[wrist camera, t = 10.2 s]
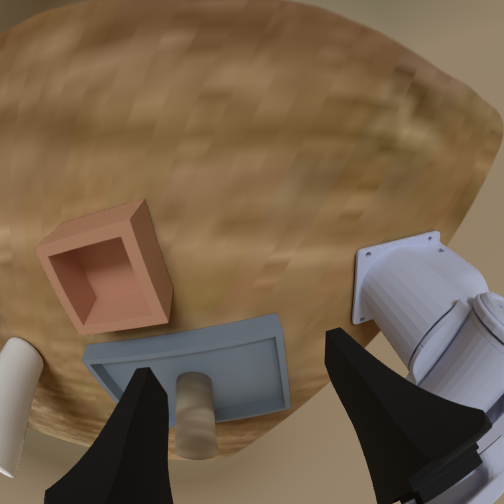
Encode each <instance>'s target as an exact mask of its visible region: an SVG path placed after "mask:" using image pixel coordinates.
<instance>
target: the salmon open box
mask: <svg viewBox="0 0 504 504" xmlns="http://www.w3.org/2000/svg"><path fill="white" fill-rule="evenodd" d="M35 250H36V252H37V254H38V257H39V259H40V261H41V264H42V266H43V268H44V270H45V272H46V274H47V276H48V278H49V280H50V282H51V284H52V286H53V288H54V290H55V292H56V294H57V296H58V298H59V300H60V302H61V303H62V305H63V307H64V309H65V311H66V312H67V314H68V316H69V318H70V319H71V321H72V323H73V324H74V326H75V328H76V329H77V331H78V332H79V334H80V335H87V334H96V333H103V332H111V331H118V330H126V329H132V328H139V327H146V326H152V325H158V324H164V323H169V315H170V308H171V301H172V294H173V286H172V283H171V280H170V277H169V274H168V271H167V268H166V265H165V263H164V260H163V257H162V253H161V250H160V247H159V244H158V241H157V238H156V235H155V231H154V228H153V225H152V222H151V218H150V215H149V211H148V208H147V204H146V201H145V199H142V200H138V201H135V202H131V203H127V204H124V205H120V206H117V207H113V208H110V209H107V210H103V211H100V212H97V213H93V214H90V215H87V216H84V217H81V218H78V219H75V220H72V221H69V222H66V223H63V224H60V225H59V226H58V227H57V228H56V229H55V230H54V231H52V232H51V233H50V234H49V235H48V236H47V237H46V238H45V239H44V240H42V241H41V242H40V243H39V244H38V245H37V246H36V247H35Z"/></svg>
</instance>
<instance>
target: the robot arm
mask: <svg viewBox="0 0 504 504" xmlns="http://www.w3.org/2000/svg"><path fill="white" fill-rule="evenodd" d="M428 238H429V239H428ZM439 240H440V233H439V232H438V231H432V232H428V233H424V234H420V235H416V236H412V237H408V238H404V239H400V240H396V241H392V242H388V243H384V244H380V245H376V246H371V247H367V248H363V249H360V250H359V251H358V252H357V254H356V269H355V286H354V300H353V312H352V322H353V324H355V325H356V324H360V323H363V322H366V321H369V320H372V319H373V320H374V322H375V323H376V324H377V326H378V327H379V329H380V330H381V331H382V333H383V334H384V336H385V337H386V338H387V340H388V341H389V342H390V344H391V345H392V347H393V348H394V350H395V351H396V352H397V354H398V356H399V357H400V358H401V360H402V361H403V363H404V364H405V366H406V367H407V369H408V370H409V374H408V375H407V377H406V378H403V377H401V376H400V375H399V374H397V373H396V372H394V371H393V370H391V369H390V368H388V367H387V366H386V365H384V364H383V363H382V362H380V361H379V360H378V359H376V358H375V357H374V356H373V355H371V354H370V353H369V352H368V351H366V350H365V349H364V348H363V347H362V346H361V345H360V344H358V343H357V342H356V341H355V340H354V339H353V338H352V337H351V336H350V335H348V334H347V333H346V332H345V331H344V330H343V329H342V328H340V327H339V328H336V329H332V330H329V331H326V340H325V362H324V363H325V366H326V368H327V371H328V374H329V377H330V379H331V382H332V384H333V386H334V388H335V390H336V392H337V394H338V396H339V398H340V400H341V402H342V404H343V406H344V408H345V410H346V412H347V414H348V416H349V418H350V420H351V422H352V424H353V426H354V428H355V431H356V433H357V436H358V439H359V442H360V444H361V447H362V450H363V453H364V456H365V459H366V462H367V466H368V469H369V472H370V476H371V479H372V483H373V487H374V491H375V495H376V500H377V504H393V503H395V502H397V501H399V500H400V502H401V504H493V503H494V502H495V501H496V500H497V499H498V498H499V497H500V496H501V495H502V493H503V492H504V298H503V297H502V296H500V295H498V294H496V293H493V292H489V290H488V287H487V284H486V282H485V280H484V278H483V276H482V275H481V273H480V272H479V271H478V270H477V269H476V268H475V267H473V266H472V265H471V264H469V263H468V262H467V261H465V260H464V259H463V258H461V257H460V256H458V255H457V254H456V253H454V252H453V251H452V250H450V249H449V248H448V247H446V246H445V245H443V244H442V243H440V242H439ZM368 252H369V254H368V255H366V254H367V253H368ZM168 433H169V406H168V394H167V393H166V391H165V390H164V388H163V387H162V385H161V384H160V382H159V381H158V379H157V378H156V376H155V375H154V373H153V371H152V370H151V368H150V367H144V368H136V370H135V372H134V374H133V375H132V377H131V379H130V381H129V383H128V385H127V387H126V389H125V391H124V393H123V395H122V396H121V398H120V400H119V402H118V404H117V406H116V408H115V409H114V411H113V413H112V415H111V416H110V418H109V420H108V421H107V423H106V425H105V426H104V428H103V430H102V431H101V433H100V434H99V436H98V437H97V439H96V440H95V441H94V443H93V444H92V446H91V447H90V448H89V449H88V451H87V452H86V453H85V454H84V455H83V457H82V458H81V459H80V460H79V461H78V463H77V464H76V465H75V466H74V467H73V468H72V469H71V470H70V471H69V472H68V473H67V474H66V475H65V476H63V477H62V478H61V479H60V480H59V481H57V482H56V483H55V484H54V485H52V486H51V487H50V488H49V489H47V490H46V491H45V497H44V504H173V499H172V494H171V488H170V481H169V472H168Z"/></svg>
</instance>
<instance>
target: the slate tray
mask: <svg viewBox="0 0 504 504" xmlns="http://www.w3.org/2000/svg"><path fill="white" fill-rule="evenodd" d="M82 362H83V363H84V364H85V366H86V367H87V368H88V370H89V371H90V372H91V373H92V375H93V376H94V377H95V379H96V380H97V381H98V382H99V383H100V385H101V386H102V387H103V388H104V390H105V391H106V392H107V393H108V394H109V395H110V397H111V398H112V399H113V400H114V401H115V402H116V403H117V404H118V402H119V400H120V398H121V396H122V395H123V393H124V391H125V389H126V387H127V385H128V383H129V381H130V379H131V377H132V375H133V374H134V372H135V370H136V368H144V367H150V368H151V370H152V371H153V373H154V375H155V376H156V378H157V379H158V381H159V382H160V384H161V385H162V387H163V388H164V390H165V391H166V393H167V394H168V406H169V428H171V427H175V408H176V380H177V377H178V376H179V375H180V374H182V373H185V372H192V371H194V372H201V373H204V374H206V375H207V376H209V377H210V379H211V381H212V393H213V406H214V417H215V423H220V422H227V421H233V420H239V419H245V418H250V417H256V416H261V415H265V414H270V413H275V412H279V411H283V410H287V409H291V403H290V393H289V384H288V374H287V365H286V356H285V347H284V339H283V330H282V327H281V324H280V321H279V318H278V316H277V313H275V314H270V315H266V316H262V317H257V318H252V319H248V320H243V321H238V322H233V323H228V324H223V325H218V326H213V327H207V328H202V329H196V330H191V331H185V332H179V333H173V334H166V335H160V336H153V337H146V338H139V339H132V340H124V341H116V342H108V343H99V344H89V345H87V347H86V350H85V353H84V355H83V358H82Z"/></svg>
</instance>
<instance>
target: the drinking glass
mask: <svg viewBox="0 0 504 504" xmlns="http://www.w3.org/2000/svg"><path fill="white" fill-rule="evenodd" d="M43 367H44V364H43V360H42V357H41V356H40V354H39V353H38V351H37V350H36V349H35V348H34V347H33V346H32V345H31V344H29V343H28V342H27V341H25V340H23V339H21V338H17V337H12V338H10V339H8V341H7V342H6V344H5V345H4V347H3V349H2V350H1V352H0V472H1V473H3V474H5V475H7V476H9V477H11V478H15V477H16V472H17V469H18V465H19V462H20V457H21V453H22V448H23V443H24V438H25V433H26V428H27V423H28V418H29V414H30V410H31V405H32V401H33V398H34V394H35V390H36V387H37V384H38V380H39V378H40V375H41V373H42V371H43Z"/></svg>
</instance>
